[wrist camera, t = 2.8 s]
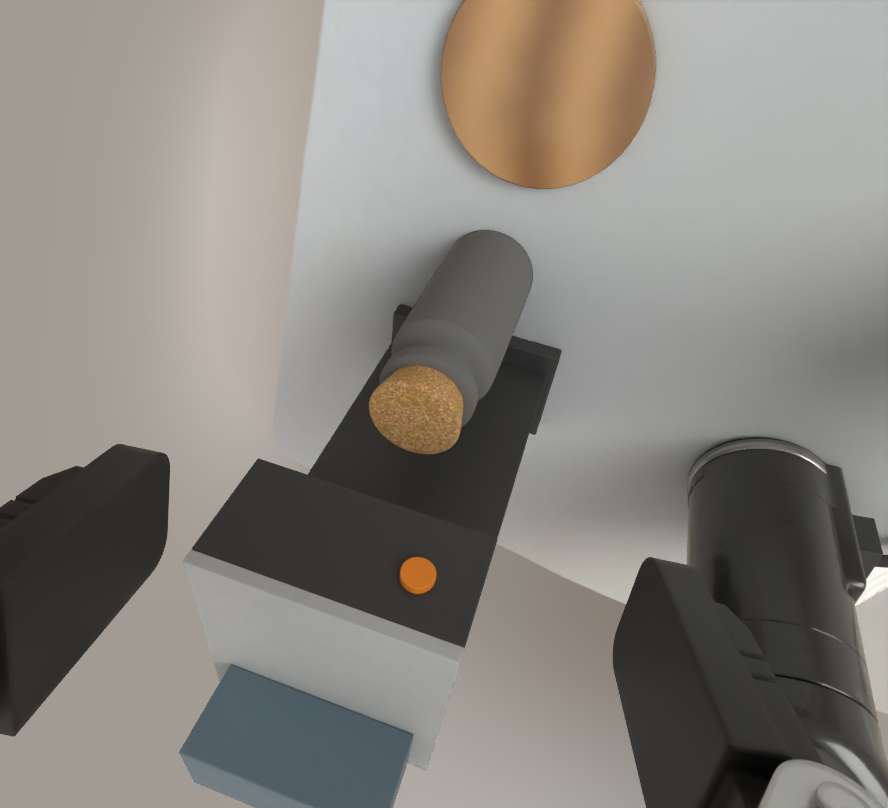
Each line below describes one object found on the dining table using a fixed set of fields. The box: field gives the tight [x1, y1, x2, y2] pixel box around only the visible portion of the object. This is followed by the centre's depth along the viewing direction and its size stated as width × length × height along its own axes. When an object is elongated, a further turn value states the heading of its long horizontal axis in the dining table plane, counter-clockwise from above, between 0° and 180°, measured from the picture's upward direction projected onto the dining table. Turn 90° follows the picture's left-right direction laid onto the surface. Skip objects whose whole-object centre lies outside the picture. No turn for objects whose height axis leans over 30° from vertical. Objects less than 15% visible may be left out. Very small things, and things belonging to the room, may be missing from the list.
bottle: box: [369, 230, 533, 454], centre depth 36 cm, size 6×6×15 cm
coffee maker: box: [179, 304, 562, 808], centre depth 34 cm, size 12×12×30 cm
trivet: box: [441, 0, 656, 189], centre depth 32 cm, size 11×11×1 cm
